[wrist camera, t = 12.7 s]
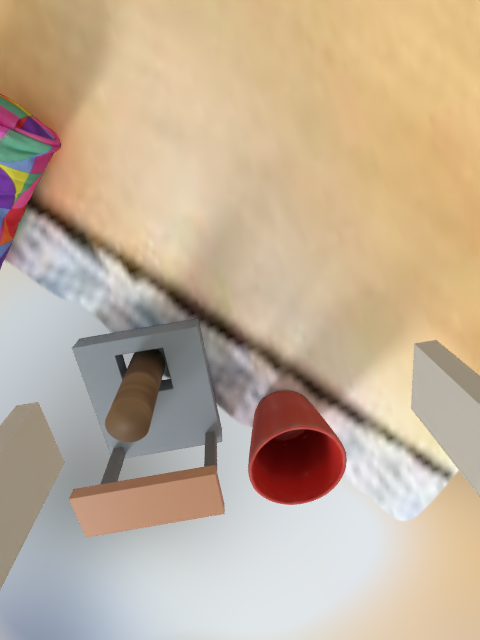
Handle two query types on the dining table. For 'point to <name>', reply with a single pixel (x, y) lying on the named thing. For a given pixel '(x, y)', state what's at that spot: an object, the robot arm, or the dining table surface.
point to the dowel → (136, 397)
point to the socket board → (152, 432)
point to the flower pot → (293, 451)
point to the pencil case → (20, 164)
